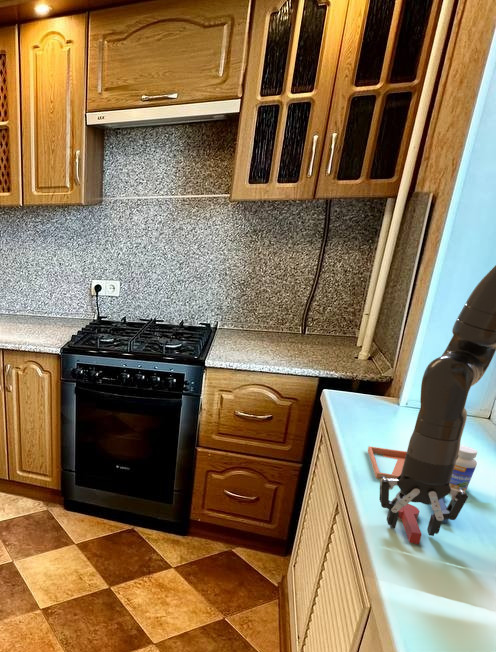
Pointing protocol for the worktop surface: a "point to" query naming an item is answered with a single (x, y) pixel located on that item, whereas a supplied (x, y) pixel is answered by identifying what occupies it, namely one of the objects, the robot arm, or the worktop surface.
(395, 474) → the tray
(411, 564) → the worktop surface
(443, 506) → the blue spoon
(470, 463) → the pill bottle
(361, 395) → the worktop surface
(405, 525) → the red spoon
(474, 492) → the worktop surface
